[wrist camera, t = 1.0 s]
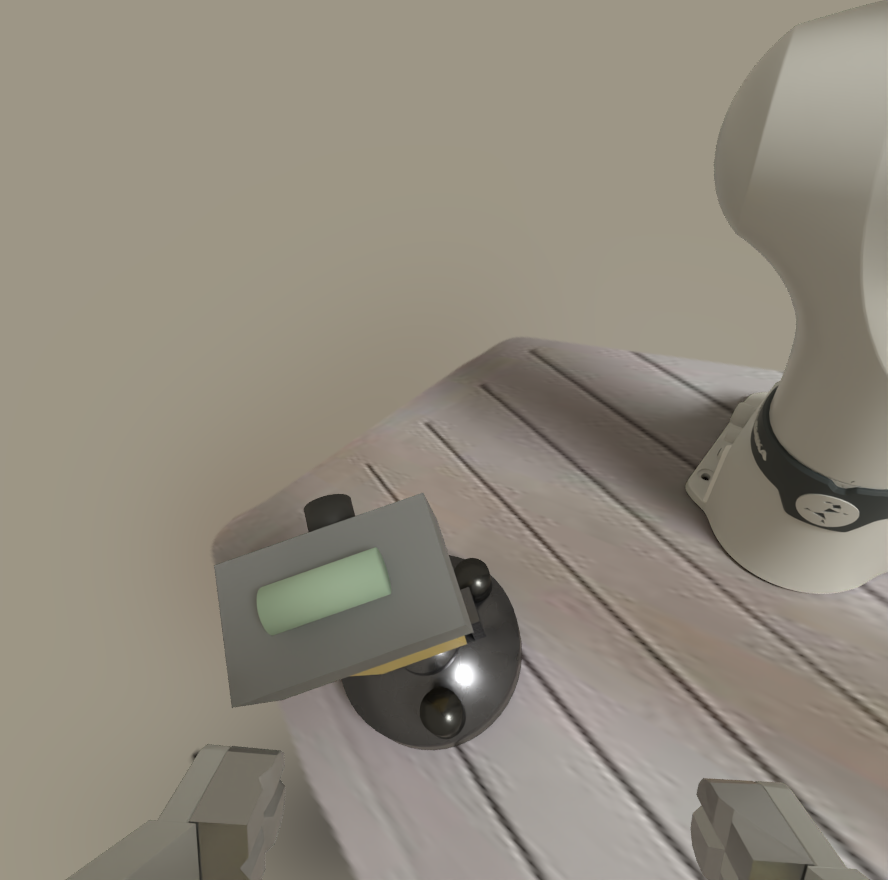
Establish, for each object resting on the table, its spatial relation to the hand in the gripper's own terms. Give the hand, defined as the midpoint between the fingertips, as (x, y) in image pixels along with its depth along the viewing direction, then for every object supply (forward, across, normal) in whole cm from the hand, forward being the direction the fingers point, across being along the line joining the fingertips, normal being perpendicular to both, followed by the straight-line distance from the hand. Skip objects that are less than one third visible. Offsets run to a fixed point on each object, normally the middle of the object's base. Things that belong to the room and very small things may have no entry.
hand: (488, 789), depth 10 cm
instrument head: (+31, +3, +16) cm, 35 cm away
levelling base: (+33, +2, +20) cm, 39 cm away
